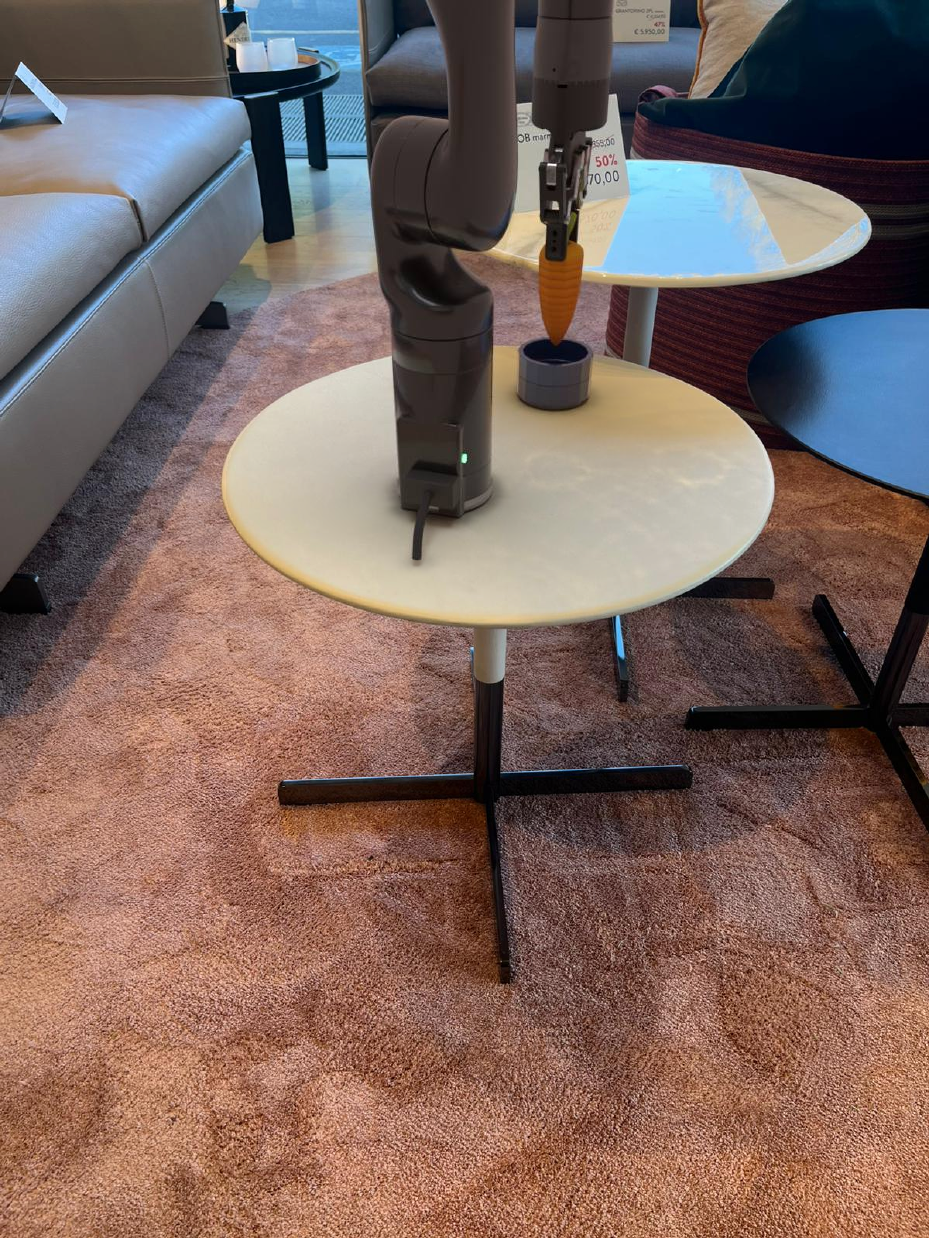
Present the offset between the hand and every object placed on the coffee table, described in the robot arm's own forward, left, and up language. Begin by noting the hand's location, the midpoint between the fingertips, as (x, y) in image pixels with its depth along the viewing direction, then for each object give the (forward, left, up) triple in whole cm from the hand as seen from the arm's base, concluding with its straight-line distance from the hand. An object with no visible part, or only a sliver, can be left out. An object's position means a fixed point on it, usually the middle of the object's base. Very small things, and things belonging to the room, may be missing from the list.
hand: (561, 252), depth 100 cm
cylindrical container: (0, 0, -17) cm, 17 cm away
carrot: (0, 0, -11) cm, 11 cm away
